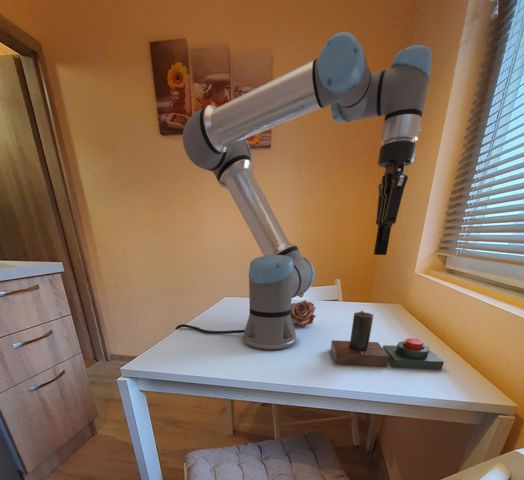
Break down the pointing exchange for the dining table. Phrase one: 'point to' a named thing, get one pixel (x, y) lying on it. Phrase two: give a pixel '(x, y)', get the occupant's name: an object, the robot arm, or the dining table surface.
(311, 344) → the dining table surface
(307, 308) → the flower
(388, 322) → the dining table surface
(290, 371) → the dining table surface
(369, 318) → the dark brown cylinder
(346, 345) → the brown wooden block
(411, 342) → the button
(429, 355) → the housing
